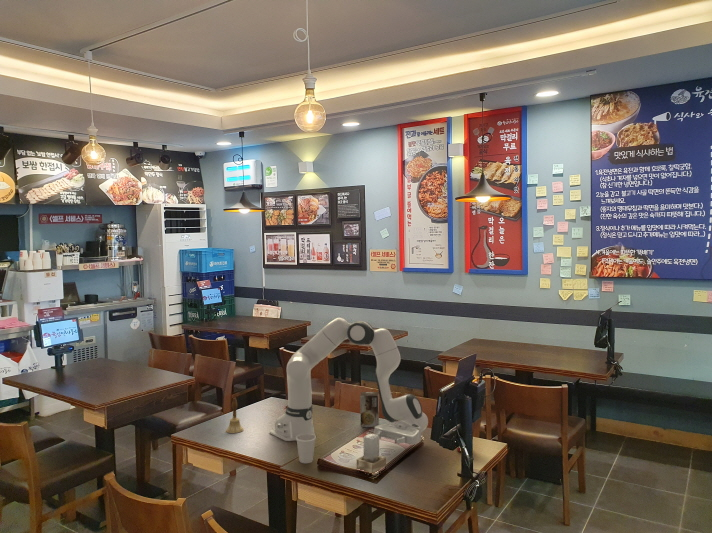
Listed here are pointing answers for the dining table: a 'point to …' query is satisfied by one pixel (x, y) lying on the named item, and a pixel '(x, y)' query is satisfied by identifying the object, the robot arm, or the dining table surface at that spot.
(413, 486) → the dining table surface
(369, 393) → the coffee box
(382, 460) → the box
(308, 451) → the dixie cup
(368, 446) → the peg
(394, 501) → the dining table surface
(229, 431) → the hand bell
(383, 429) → the robot arm
